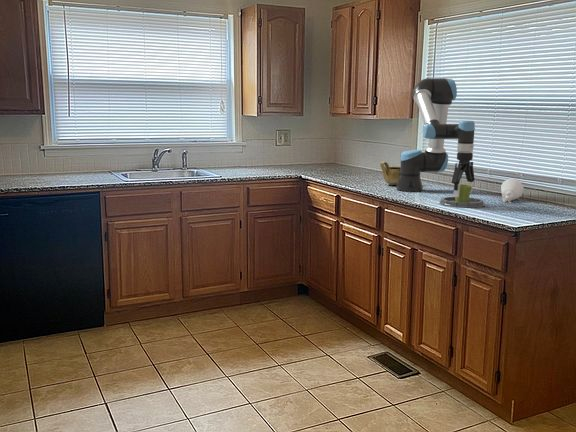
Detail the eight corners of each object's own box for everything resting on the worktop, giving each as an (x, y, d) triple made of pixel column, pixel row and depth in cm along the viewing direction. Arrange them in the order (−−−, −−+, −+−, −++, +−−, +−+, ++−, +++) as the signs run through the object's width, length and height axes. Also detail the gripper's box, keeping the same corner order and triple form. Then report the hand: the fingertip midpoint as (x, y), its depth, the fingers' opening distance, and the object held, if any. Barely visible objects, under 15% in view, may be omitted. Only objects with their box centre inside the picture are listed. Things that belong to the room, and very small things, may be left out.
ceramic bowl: (388, 187, 357) (389, 163, 354) (373, 184, 372) (374, 160, 369) (418, 186, 366) (419, 162, 363) (402, 182, 381) (403, 159, 378)
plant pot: (449, 202, 298) (450, 185, 296) (456, 200, 305) (457, 183, 304) (467, 204, 292) (468, 187, 291) (474, 202, 300) (475, 185, 298)
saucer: (431, 203, 299) (431, 199, 298) (453, 199, 314) (453, 195, 314) (471, 209, 284) (471, 204, 283) (492, 204, 299) (492, 199, 298)
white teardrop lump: (508, 185, 299) (514, 174, 313) (490, 198, 306) (496, 186, 320) (523, 203, 299) (528, 191, 313) (504, 215, 305) (510, 203, 320)
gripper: (460, 153, 283) (457, 198, 287) (483, 151, 300) (480, 194, 304) (446, 152, 288) (443, 197, 292) (469, 150, 305) (467, 192, 309)
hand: (462, 195), depth 298 cm, fingers open, 11 cm apart
